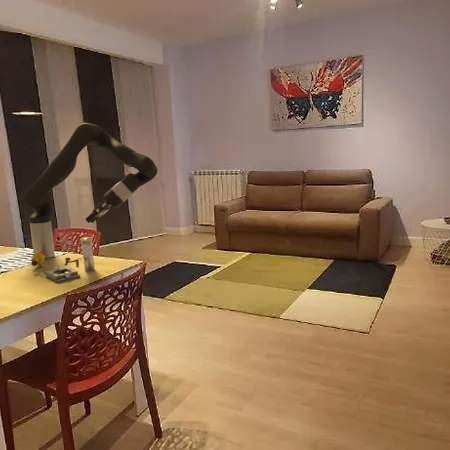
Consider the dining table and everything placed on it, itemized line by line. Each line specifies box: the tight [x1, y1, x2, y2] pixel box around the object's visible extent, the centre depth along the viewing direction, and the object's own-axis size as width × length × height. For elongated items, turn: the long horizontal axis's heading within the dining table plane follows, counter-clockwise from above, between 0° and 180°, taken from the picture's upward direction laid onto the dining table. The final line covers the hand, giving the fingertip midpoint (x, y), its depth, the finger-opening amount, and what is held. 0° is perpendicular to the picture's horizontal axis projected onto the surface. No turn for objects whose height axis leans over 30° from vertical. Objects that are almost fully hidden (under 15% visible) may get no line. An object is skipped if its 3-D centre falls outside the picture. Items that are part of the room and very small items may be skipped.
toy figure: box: [30, 251, 45, 269], centre depth 179 cm, size 18×6×7 cm, turn 13°
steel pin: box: [79, 236, 96, 273], centre depth 171 cm, size 5×5×14 cm
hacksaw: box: [64, 257, 83, 269], centre depth 182 cm, size 24×10×2 cm, turn 19°
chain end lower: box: [46, 271, 81, 284], centre depth 163 cm, size 11×9×3 cm
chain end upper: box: [44, 265, 79, 279], centre depth 165 cm, size 11×9×3 cm
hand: (88, 221), depth 167 cm, fingers open, 8 cm apart
